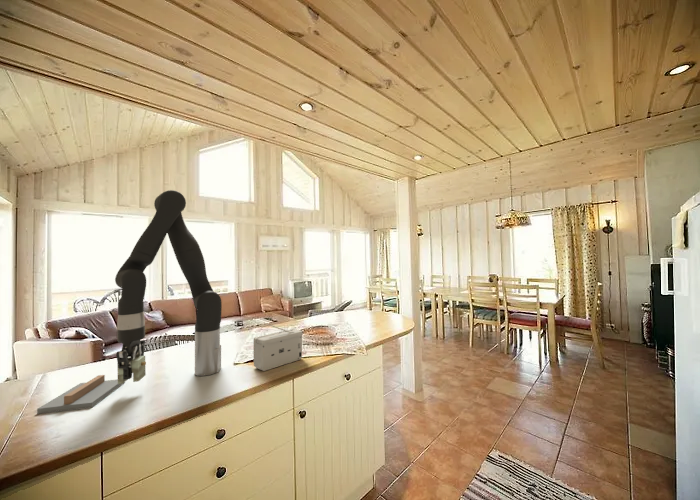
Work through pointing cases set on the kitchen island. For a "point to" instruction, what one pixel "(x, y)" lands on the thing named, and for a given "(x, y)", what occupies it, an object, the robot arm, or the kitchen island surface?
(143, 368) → the sage block
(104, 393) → the cleat board
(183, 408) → the kitchen island surface
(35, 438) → the kitchen island surface
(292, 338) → the stereo radio cassette player
